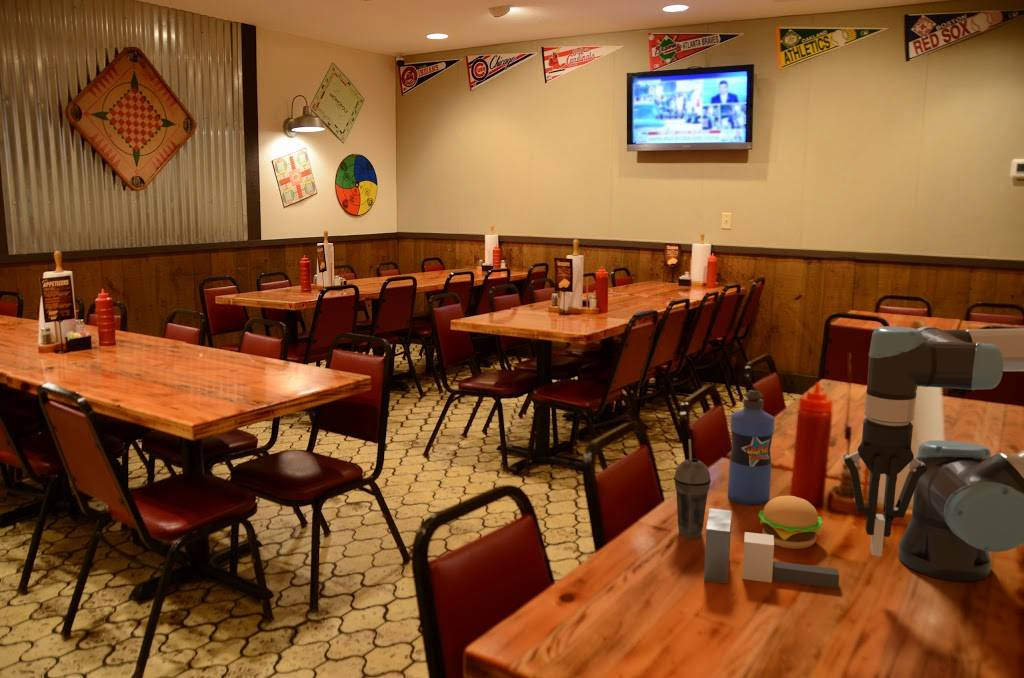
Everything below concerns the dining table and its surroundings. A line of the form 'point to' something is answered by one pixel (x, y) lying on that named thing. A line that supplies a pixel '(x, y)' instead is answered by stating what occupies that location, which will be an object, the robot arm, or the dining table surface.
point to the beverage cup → (691, 495)
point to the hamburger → (791, 522)
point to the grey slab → (717, 545)
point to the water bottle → (750, 452)
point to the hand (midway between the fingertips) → (875, 552)
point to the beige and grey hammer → (781, 565)
